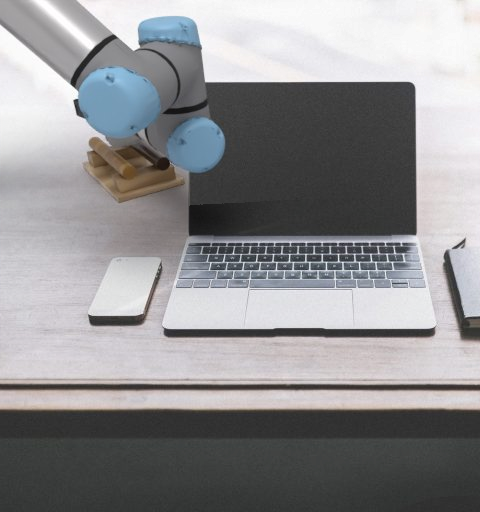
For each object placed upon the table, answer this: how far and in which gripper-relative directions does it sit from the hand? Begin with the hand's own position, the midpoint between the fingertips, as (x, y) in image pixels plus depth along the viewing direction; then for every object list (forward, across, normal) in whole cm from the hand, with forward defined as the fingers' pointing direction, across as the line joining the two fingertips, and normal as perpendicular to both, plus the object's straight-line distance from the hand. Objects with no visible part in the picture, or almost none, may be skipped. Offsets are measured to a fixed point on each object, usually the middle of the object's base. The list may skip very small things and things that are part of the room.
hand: (106, 88), depth 108 cm
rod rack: (-5, 0, -15) cm, 16 cm away
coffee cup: (-5, 0, -8) cm, 10 cm away
